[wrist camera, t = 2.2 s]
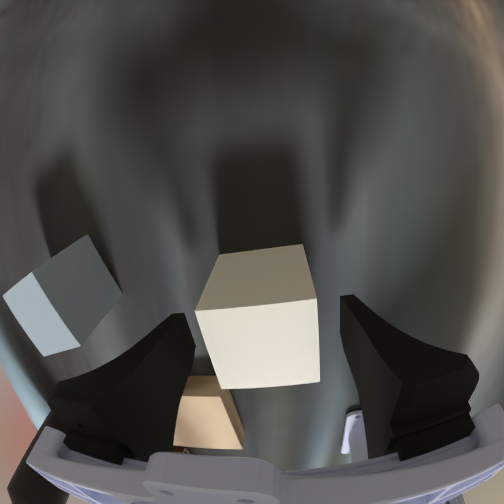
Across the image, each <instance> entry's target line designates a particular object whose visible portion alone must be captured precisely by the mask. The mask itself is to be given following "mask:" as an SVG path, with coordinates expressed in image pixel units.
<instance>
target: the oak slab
mask: <svg viewBox="0 0 504 504" xmlns="http://www.w3.org/2000/svg"><path fill="white" fill-rule="evenodd" d="M243 440H244V429H243V426H242V423H241V421H240V418H239V415H238V413H237V410H236V407H235V404H234V402H233V399H232V396H231V393H230V390H229V389H221V386H220V384H219V381H218V378H217V376H189V377H188V380H187V383H186V386H185V389H184V392H183V395H182V398H181V401H180V405H179V410H178V415H177V421H176V427H175V434H174V443H173V445H176V446H186V447H198V448H214V449H243Z"/></svg>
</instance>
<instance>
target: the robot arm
mask: <svg viewBox="0 0 504 504" xmlns="http://www.w3.org/2000/svg"><path fill="white" fill-rule="evenodd" d="M340 334H341V339H342V343H343V348H344V352H345V355H346V357H347V360H348V363H349V366H350V369H351V372H352V375H353V378H354V381H355V384H356V387H357V390H358V394H359V399H360V404H361V409H362V410H358V411H353V412H350V413H348V414H347V415H346V420H345V427H344V434H343V440H342V446H341V453H342V454H346V453H350V455H351V462H352V463H349V464H343V465H337V466H331V467H323V468H315V469H306V470H296V471H281V472H280V470H279V469H278V468H277V467H276V466H275V465H274V464H273V463H271V462H269V461H265V460H262V459H259V458H250V457H231V456H208V455H195V454H184V453H175V452H173V443H174V434H175V427H176V421H177V415H178V410H179V405H180V401H181V398H182V395H183V392H184V389H185V386H186V383H187V380H188V377H189V374H190V370H191V367H192V364H193V359H194V353H195V347H196V345H195V342H194V340H193V337H192V334H191V331H190V328H189V326H188V323H187V320H186V317H185V314H184V313H175V314H171V315H170V316H169V317H167V318H166V319H165V320H164V321H163V322H162V323H160V324H159V325H158V326H157V327H156V328H155V329H153V330H152V331H151V332H150V333H149V334H148V335H146V336H145V337H144V338H143V339H142V340H140V341H139V342H138V343H137V344H135V345H134V346H133V347H131V348H130V349H129V350H127V351H126V352H124V353H123V354H121V355H120V356H118V357H117V358H115V359H114V360H112V361H110V362H108V363H106V364H104V365H102V366H101V367H99V368H97V369H94V370H92V371H90V372H87V373H85V374H82V375H80V376H77V377H74V378H70V379H67V380H64V381H60V382H59V383H58V384H57V386H56V387H55V389H54V390H53V392H52V393H51V395H50V396H49V398H48V405H49V407H50V409H51V410H52V412H53V413H54V414H55V415H56V416H57V418H58V419H59V420H60V421H61V422H62V423H63V424H64V425H65V427H66V428H67V429H68V430H69V431H68V433H67V435H66V434H64V433H63V432H61V431H59V430H56V429H54V428H51V427H48V426H45V428H44V430H43V431H42V433H41V435H40V437H39V438H38V440H37V442H36V444H35V445H34V447H33V449H32V451H31V453H30V454H29V456H28V458H27V460H26V463H27V464H28V465H29V466H31V467H32V468H33V469H34V470H35V471H37V472H38V473H39V474H40V475H42V476H43V477H44V478H46V479H47V480H48V481H50V482H51V483H52V484H54V485H55V486H56V487H58V488H60V489H62V490H63V491H65V492H67V493H70V494H72V495H74V496H76V497H78V498H80V499H82V500H84V501H86V502H88V503H91V504H465V502H464V499H463V495H462V493H464V492H466V491H468V490H470V489H472V488H474V487H475V486H477V485H479V484H481V483H483V482H485V481H486V480H488V479H490V478H491V477H493V476H494V475H495V474H496V473H497V472H498V471H499V470H501V469H502V468H503V467H504V411H503V409H502V407H501V406H500V404H495V405H494V406H492V407H490V408H488V409H486V410H484V411H482V412H480V413H478V414H476V415H475V416H474V417H473V418H472V419H471V417H470V415H469V412H470V411H471V407H470V405H469V403H468V401H469V399H470V397H471V395H472V393H473V392H474V390H475V388H476V386H477V383H478V380H479V372H478V370H477V369H476V367H475V366H474V364H473V362H472V361H471V360H470V358H469V357H468V356H467V355H466V354H461V353H456V352H452V351H447V350H444V349H441V348H438V347H434V346H432V345H429V344H426V343H424V342H422V341H419V340H417V339H415V338H413V337H411V336H409V335H407V334H405V333H404V332H402V331H400V330H398V329H397V328H395V327H393V326H392V325H391V324H389V323H388V322H386V321H385V320H383V319H382V318H381V317H379V316H378V315H377V314H376V313H374V312H373V311H372V310H371V309H370V308H368V307H367V306H366V305H365V304H364V303H363V302H362V301H360V300H359V299H358V298H357V297H356V296H355V295H353V294H352V295H345V296H340Z"/></svg>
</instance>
